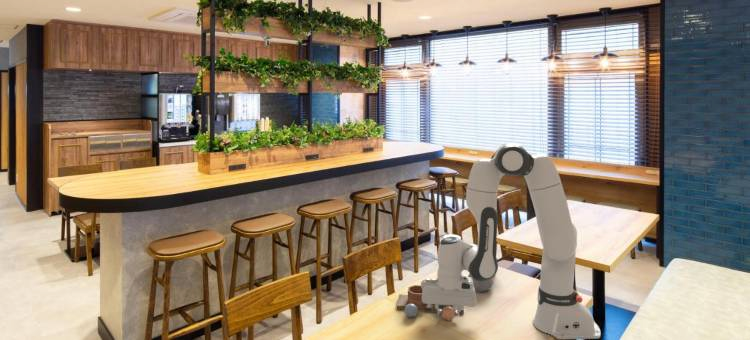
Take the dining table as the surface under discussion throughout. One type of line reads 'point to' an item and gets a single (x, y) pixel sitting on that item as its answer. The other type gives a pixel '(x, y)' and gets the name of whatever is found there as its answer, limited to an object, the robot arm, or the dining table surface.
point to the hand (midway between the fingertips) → (448, 315)
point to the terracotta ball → (448, 313)
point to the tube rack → (419, 301)
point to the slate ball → (411, 310)
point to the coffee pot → (487, 284)
